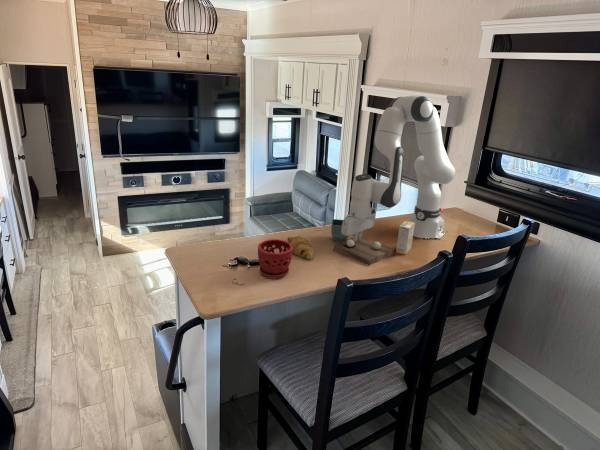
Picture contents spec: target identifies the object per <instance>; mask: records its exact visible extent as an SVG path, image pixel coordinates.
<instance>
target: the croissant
mask: <svg viewBox="0 0 600 450" xmlns="http://www.w3.org/2000/svg"><path fill="white" fill-rule="evenodd" d="M286 240H287V242H288V243H290V244H291V245H292V255H295V256H298V257H300V258H305V260H312V259H314V249H313V246H312V245H311V243H310V242H309V240H308V238H306V237H303V236H302V235H299V236H295V237H291V236H290V237H287V239H286Z"/></svg>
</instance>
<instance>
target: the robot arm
mask: <svg viewBox="0 0 600 450" xmlns="http://www.w3.org/2000/svg"><path fill="white" fill-rule="evenodd" d="M411 122H412V123H413V122H414V124H415V134H416V135H415V136H416V142H417V146H418V150H419V152H420V153H421V155H420V156H418V157H417V158H416V159H415V160H414V163H413V168H414V171H415V174H416V179H417V180H416V181H417V198H416V205H415V206H414V211H413V214H412V215H411V217H410V221H409V222H413V223H415V226H414V233H413V237H415V238H418V239H419V238H420V239H423V238H425V239H426V240H430V239H429V238H437V239H436V240H439V239H440V238H441V237H442V236H443V235H444V234H445V233H444V234H443V233H441V232H442V231H443V229H444V228H445V219H443V217H441V212H443V207H440V205H441V200H442V191H441V189H440V185H447V184H450V183H451V182H452V181H453V180H454V178H455V176H456V168H455V167H454V166H453V165H452V163H451V161H450V159H449V156H448V154H447V151H446V149H445V146H444V145H445V144H444V141H443V133H442V126H441V120H440V117H439V114H438V110H437V108H436V107H435V106H434V103H433V101H432V99H430V98H429V97H427V96H424V95H421V96H418V95H407V96H406V95H405V96H398V97H396V98H394V99H393V100H392V101H391V102H390V103H389V105H388V107H386V109H384V111H383V112H382V114H381V117H380V119H379V122H378V124H377V128H376V131H375V135H374V145H375V147H376V149H377V150H378V151H379V152H380V153H381V154H382V155H384V157H386V158H387V160H389V163H390V169H389V177H388V183H387V182H384V181H380V180H377V179H374V178H373V177H372V175H371V174H367V173H366V174H364V173H363V174H362V173H361V174H358V175H356V176H354V178H353V182H352V187H351V195H350V196H351V199H350V200H351V201H350V203H349V204H350V205H349V214H347V215H345V218H343V219H342V220H343V223H342V229H341V233H342V235H345V236H348V237H349V236H352V238H353V240H354V241H358V240H360V237H362V235H363V231H365V230H369V229H371V228H374V225H375V220H376V213H377V209H376V208H374V207H371V202H372V203H375V204H379V205H382V206H383V207H385V208H388V209H390V208H393V207H395V206H397V205H398V204H399V203H400V202H401V198H402V180H403V179H402V178H403V172H404V162H405V151H404V149H403V148H402V143H401V140H402V134H403V129H404V126H405V125H406V123H411ZM445 235H446V234H445ZM445 235H444V236H445ZM444 236H443V237H444ZM443 237H442V238H443ZM427 238H428V239H427ZM425 239H424V240H425ZM440 240H441V239H440Z"/></svg>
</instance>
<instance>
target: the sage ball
mask: <svg viewBox="0 0 600 450" xmlns="http://www.w3.org/2000/svg"><path fill="white" fill-rule="evenodd" d="M374 242H375V243H374V244H373V247H374V248H375V249H380V248H381V245H382V244H381V242H379V241H374Z"/></svg>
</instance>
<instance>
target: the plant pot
mask: <svg viewBox="0 0 600 450" xmlns="http://www.w3.org/2000/svg"><path fill="white" fill-rule="evenodd" d="M273 246H274V247H273ZM275 250H278V251H279V252H275ZM292 258H293V253H292V245H291V244H290V243H288V241H286V240H282V239H277V238H276V239H275V238H274V239H267V240H263V241H261V242H260V243H258V245H257V259H258V263H259V265H260V266H259V270H258V271H259V272H260V274H261V275H262V276H264V277H265V278H269V279H282V278H284V277H286V276H288V274H289V273H290V267H289V266H290V265H291V262H292Z"/></svg>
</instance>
